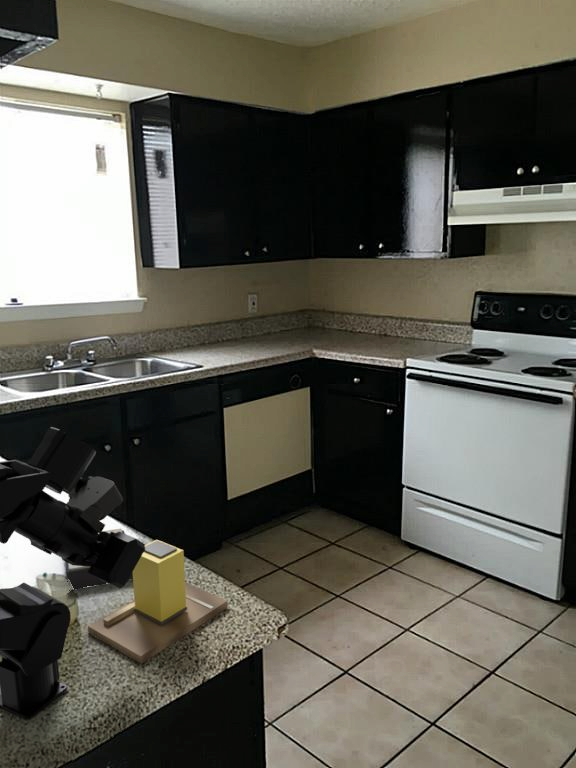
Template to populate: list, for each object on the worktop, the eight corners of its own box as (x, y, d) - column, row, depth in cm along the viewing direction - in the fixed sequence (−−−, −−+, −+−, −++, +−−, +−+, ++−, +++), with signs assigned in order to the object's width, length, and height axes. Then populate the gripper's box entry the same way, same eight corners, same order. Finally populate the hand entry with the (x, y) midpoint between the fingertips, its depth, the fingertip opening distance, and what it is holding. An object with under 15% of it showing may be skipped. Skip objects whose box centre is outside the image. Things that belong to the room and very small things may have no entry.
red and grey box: (123, 525, 127) (133, 556, 113) (125, 546, 128) (134, 580, 114) (63, 534, 123) (65, 568, 109) (65, 556, 124) (67, 592, 110)
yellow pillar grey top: (161, 625, 97) (157, 561, 95) (134, 611, 101) (130, 549, 99) (187, 609, 101) (184, 548, 99) (160, 596, 105) (156, 537, 103)
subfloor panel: (141, 663, 91) (140, 650, 91) (88, 632, 98) (87, 620, 98) (227, 607, 105) (227, 596, 104) (175, 584, 112) (174, 573, 111)
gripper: (128, 481, 81) (196, 533, 92) (41, 452, 92) (112, 501, 103) (78, 566, 76) (156, 609, 87) (-6, 524, 88) (72, 567, 98)
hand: (123, 566), depth 94 cm, fingers closed
